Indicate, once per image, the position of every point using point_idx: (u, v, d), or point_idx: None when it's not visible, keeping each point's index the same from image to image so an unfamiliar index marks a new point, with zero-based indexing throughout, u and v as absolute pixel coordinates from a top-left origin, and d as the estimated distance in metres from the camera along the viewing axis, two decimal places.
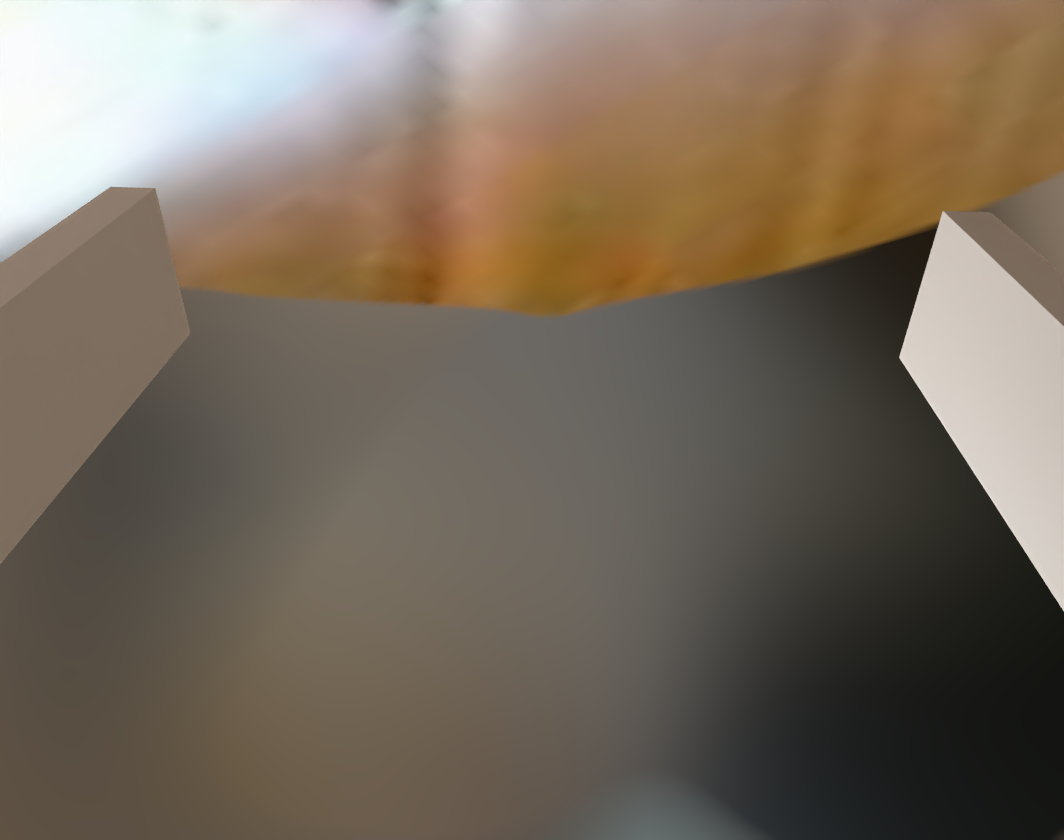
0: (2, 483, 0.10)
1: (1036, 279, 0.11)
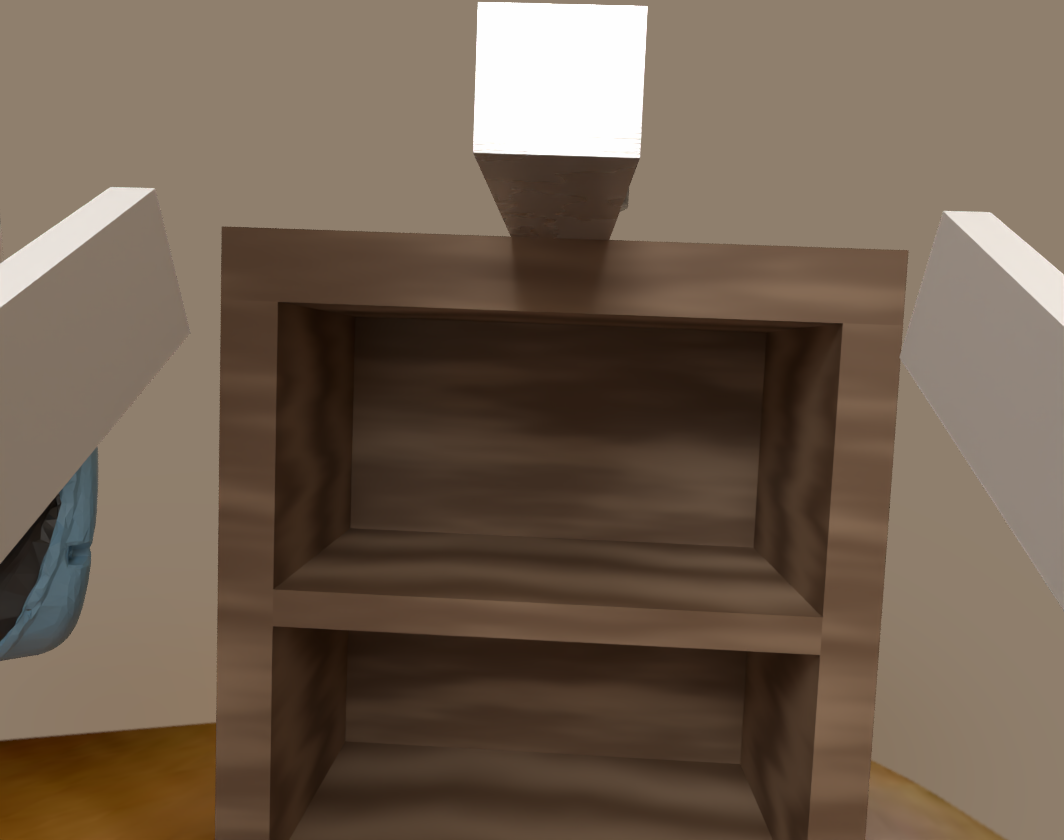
0: (2, 483, 0.10)
1: (1036, 279, 0.11)
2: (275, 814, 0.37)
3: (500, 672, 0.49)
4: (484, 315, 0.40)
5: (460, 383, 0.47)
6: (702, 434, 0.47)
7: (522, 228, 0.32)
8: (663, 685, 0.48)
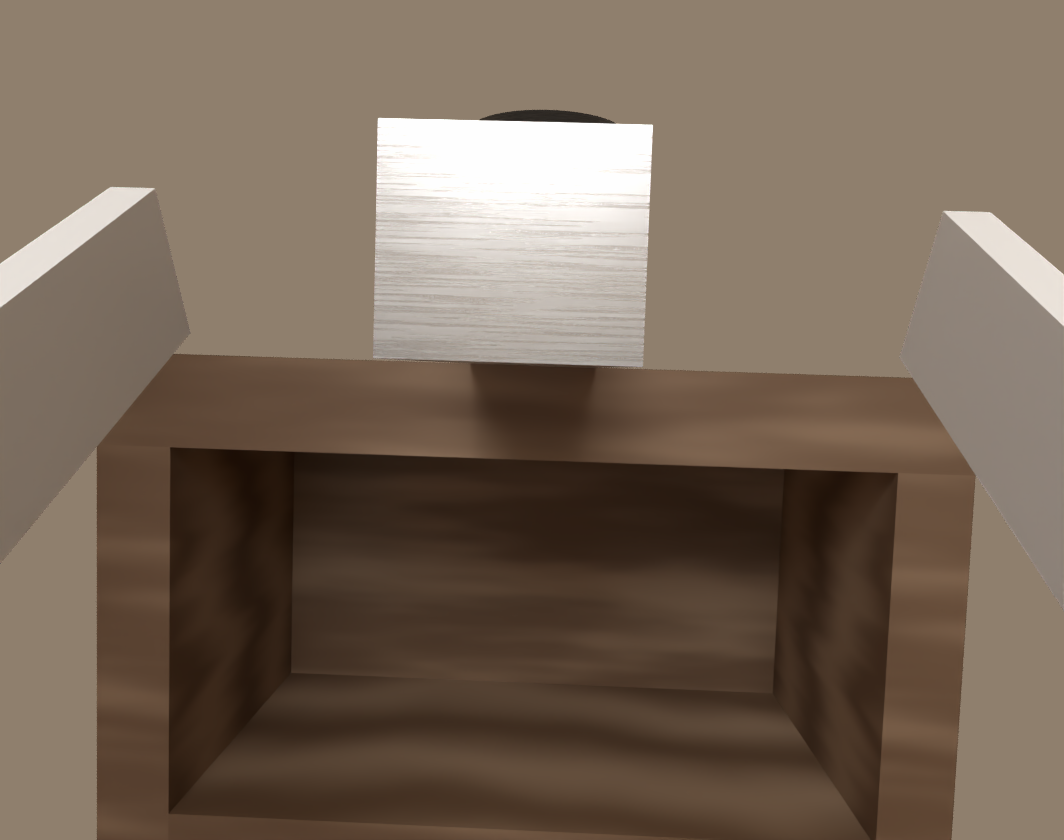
0: (2, 483, 0.10)
1: (1036, 279, 0.11)
2: None
3: None
4: None
5: (420, 500, 0.40)
6: (710, 559, 0.39)
7: None
8: None
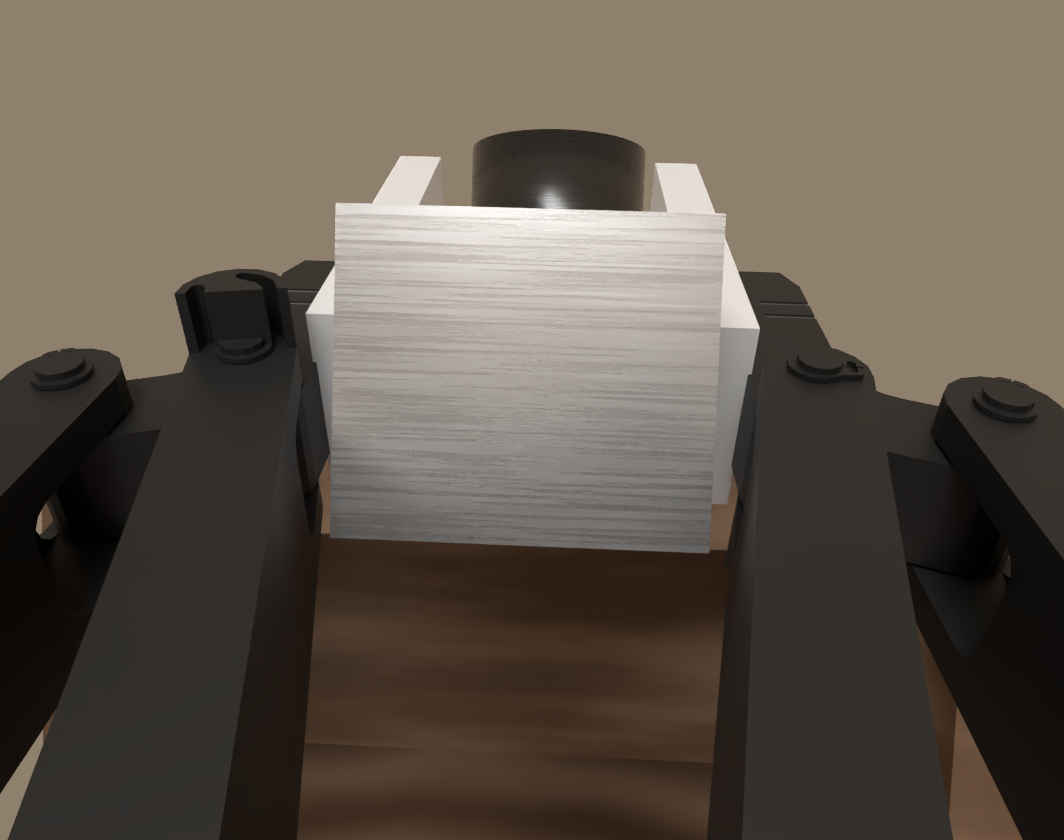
0: None
1: None
2: None
3: None
4: None
5: (417, 554, 0.36)
6: None
7: None
8: None
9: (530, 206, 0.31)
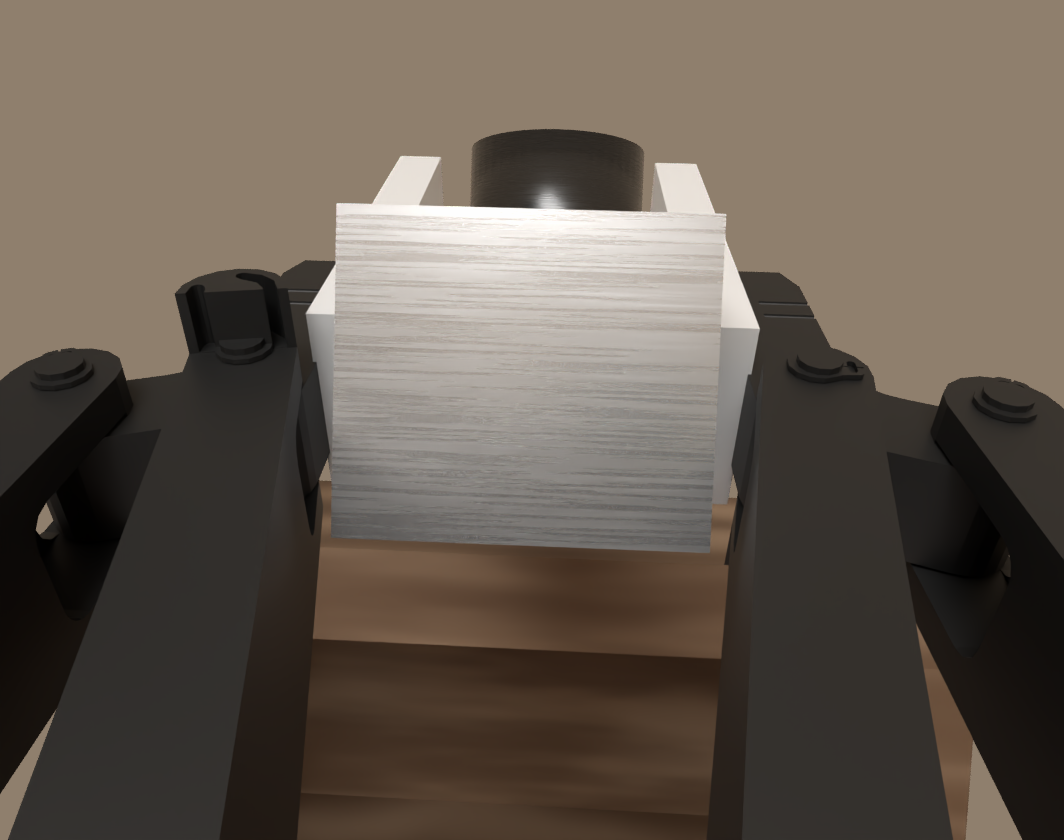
0: None
1: None
2: None
3: None
4: None
5: None
6: (714, 686, 0.39)
7: None
8: None
9: (529, 206, 0.31)
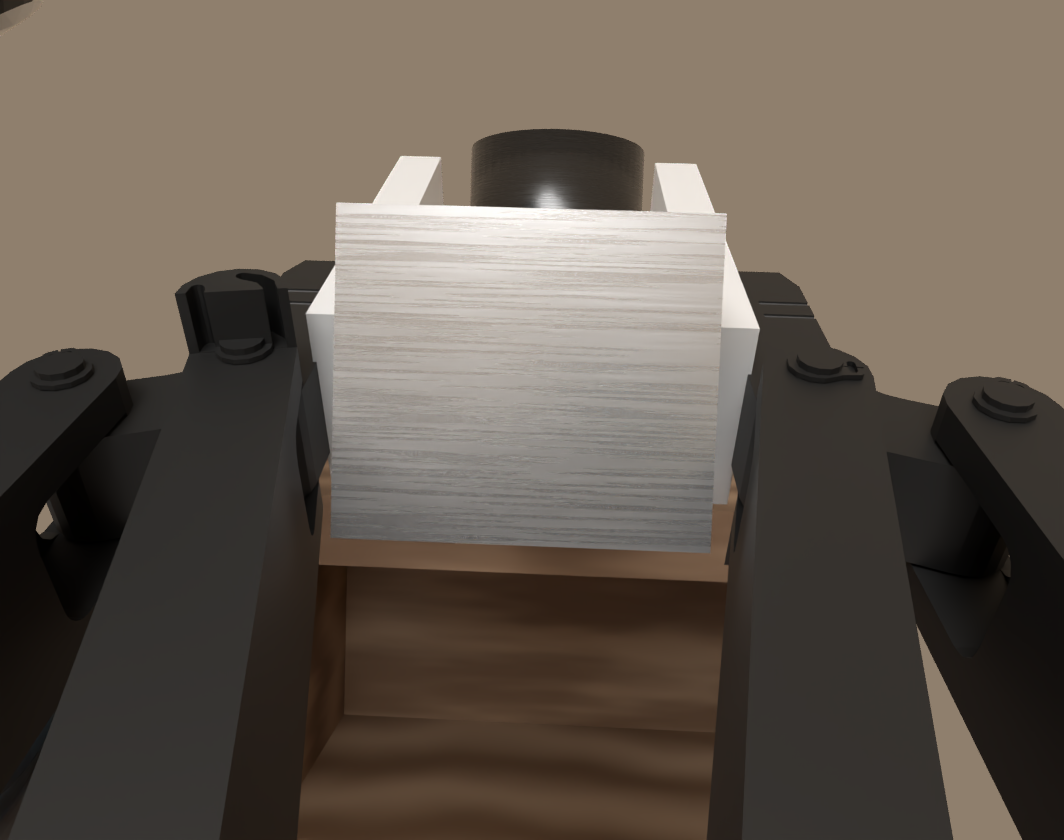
0: None
1: None
2: None
3: None
4: None
5: (451, 574, 0.48)
6: (688, 624, 0.48)
7: None
8: None
9: (529, 206, 0.31)
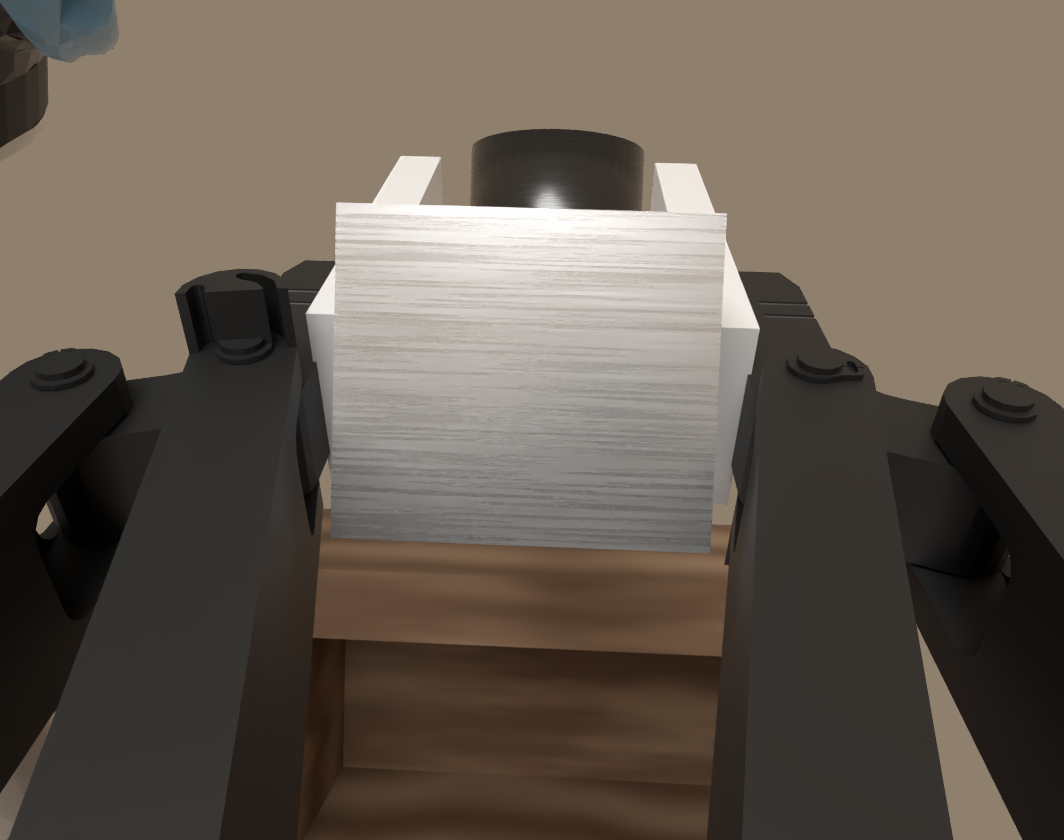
0: None
1: None
2: None
3: None
4: None
5: None
6: (686, 678, 0.48)
7: None
8: None
9: (529, 206, 0.31)
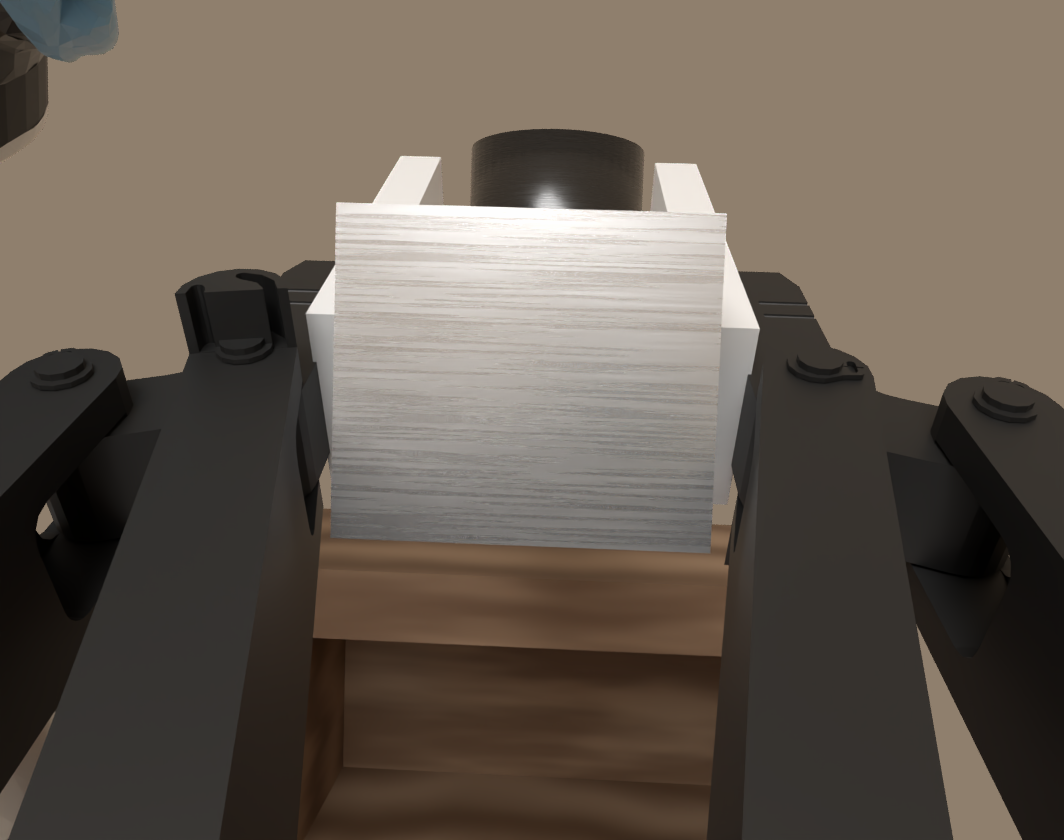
0: None
1: None
2: None
3: None
4: None
5: None
6: (686, 678, 0.48)
7: None
8: None
9: (529, 206, 0.31)
